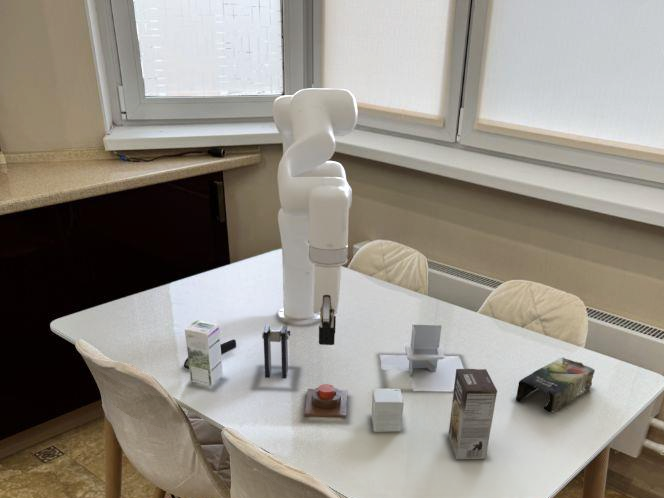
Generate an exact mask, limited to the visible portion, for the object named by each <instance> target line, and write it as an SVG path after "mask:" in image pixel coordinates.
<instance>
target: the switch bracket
mask: <svg viewBox="0 0 664 498" xmlns="http://www.w3.org/2000/svg"><path fill="white" fill-rule="evenodd" d="M270 330H271V325H270V324H265V325H264V330H263V332H262V333H261V339H262V340H263V359H264V360H263V362H264V378H266V379H269V378H270V376H271V373H272V349H271V347H272V346H271V342H270ZM281 330H282V331H281V341H280V349H281V350H280V353H281V378H282V379H287V377H288V372H289V355H288V350H289V349H288V348H289V347H288V340H289V339H290V338H289V337H290V336H289V334H287V331H288V325H282V328H281Z"/></svg>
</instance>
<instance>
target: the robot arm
mask: <svg viewBox="0 0 664 498" xmlns="http://www.w3.org/2000/svg"><path fill="white" fill-rule="evenodd" d="M358 112H359V111H358V104H357V101H356V98H355V96H354V94H353V93H352V92H351V91H349V90H347V89H346V88H345V89H344V88H319V87H318V88H317V87H316V88H315V87H314V88H313V87H312V88H311V87H310V88H303V89H300V90H298V91H297V92H295V93H294V94H293V95H282V96H278V97H277V98H276V99H274V101H273V104H272V117H273V122H274V124H275V127H276V130H277V131H278V134H279V136H280V139H281V143H282V157H281V159H280V160H279V164H278V167H277V179H276V180H277V187H278V198H279V205H280V208H279V210H278V213H277V223H278V230H279V236H280V243H281V259H282V260H281V261H282V303H283V307H282V308H280V309H279V310H278V312H277V317H278V318H283V319H284V318H286V319H287V318H288V319H292V320H309V319H312V320H313V319H314V320H319V325H318V345H321V346H334V345H335V339H336V337H335V334H336V325H337V324H336V322H337V319H336V318H337V317H336V315H337V313H338V309H339V302H340V293H341V282H342V281H341V279H342V266H344V265H346V264H347V263H348V254H349V253H348V251H349V215H350V209H351V207H352V204H353V203H352V202H353V190H352V187H351V186H350V184H349V182H348V181H347V175H346V171H345V168H344V166H343V165H342V164H341V163H340V162H337V161H333V160H330V159H331V158H332V157H333V155H334V154H335V151H336V144H337V143H336V138H335V137H344V136H346V135H348V134H351V133H352V132H354V130H355V129H356V126H357V123H358Z"/></svg>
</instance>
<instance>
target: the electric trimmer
mask: <svg viewBox="0 0 664 498" xmlns="http://www.w3.org/2000/svg"><path fill="white" fill-rule="evenodd" d="M220 346H221V356H222V355H224V354H226V353H228V352H230V351H232V350H234V349H236V348H237V341H236V339H235V338H234V339H231V340H228V341H226V342H223V343H220ZM183 368H184V369H186V370H188V371H189V372H190V370H189V361H188V357H186V359H185V361H184V363H183Z"/></svg>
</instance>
